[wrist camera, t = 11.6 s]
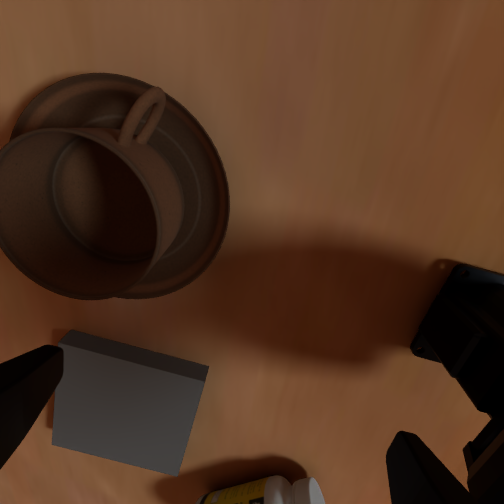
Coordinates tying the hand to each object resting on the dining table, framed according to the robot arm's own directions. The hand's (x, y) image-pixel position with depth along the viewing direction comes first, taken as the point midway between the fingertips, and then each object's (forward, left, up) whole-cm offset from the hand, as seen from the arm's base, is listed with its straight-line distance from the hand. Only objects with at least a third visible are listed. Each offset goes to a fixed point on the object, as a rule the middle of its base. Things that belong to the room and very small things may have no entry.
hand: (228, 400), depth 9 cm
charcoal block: (+6, +15, -13) cm, 20 cm away
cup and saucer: (+8, -1, -12) cm, 15 cm away
